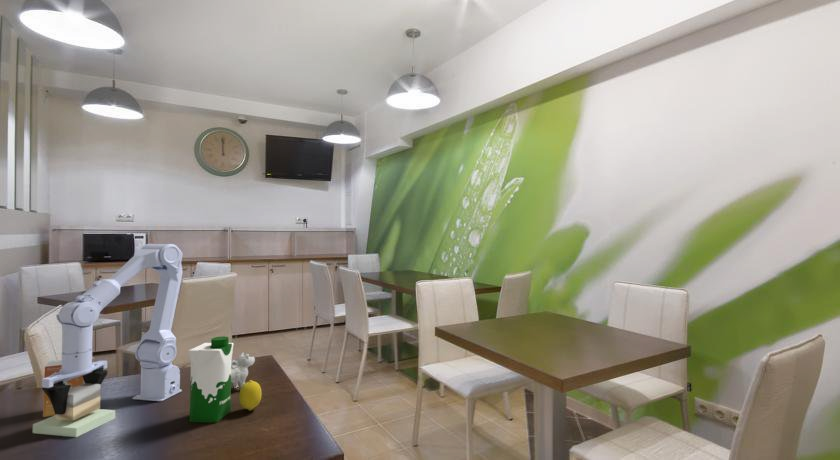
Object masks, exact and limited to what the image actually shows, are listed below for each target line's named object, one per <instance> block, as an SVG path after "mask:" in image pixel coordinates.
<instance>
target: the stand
mask: <svg viewBox="0 0 840 460" xmlns="http://www.w3.org/2000/svg"><path fill="white" fill-rule="evenodd" d="M115 419H116V410H115V409H101V408H99V409H97V410H95V411H93V412H91V413H88V414H86V415H84V416H82V417H80V418H77V419H75V420H73V421H72V420H59V419H56V415H53V416H49V417H46V418H45V419H43V420H40V421H38V422H35V423H33V424H32V434H38V435H50V436H60V437H61V436H62V437H72V438H78V437H79V436H82V435H84V434H86V433H88V432H90V431H92V430H94V429H96V428H98V427H101V426H102V425H104V424H107V423H109V422H110V421H112V420H115Z"/></svg>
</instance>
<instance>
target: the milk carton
mask: <svg viewBox="0 0 840 460" xmlns="http://www.w3.org/2000/svg"><path fill="white" fill-rule="evenodd" d="M229 339H230V337H228V336H217V337H212V338H211V339H210V340H211V341H210V342H204V343H202V344H200V345H197V346H196V347H193V348H191V349H188V354H189V361H190V385H189V386H190V394H189V395H190V396H189V419H188V420H189V423H219V422H220V421H221V420H222V419H223V418H224V417H225V416H227V415H228V414H229V413H230V412H231V411H232V396H231V395H232V392H231V391H232V383H231V361H232V359H233V351H234V342H230V341H229Z"/></svg>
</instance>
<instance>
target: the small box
mask: <svg viewBox="0 0 840 460" xmlns="http://www.w3.org/2000/svg"><path fill="white" fill-rule="evenodd" d="M60 369H62V359H55V360H49V361H48V362H47V364H46V365H45V366H44V374H43V375H44V377H43V379H44V378H46V377H49V376H51V375H53V374H55V373H57V372H60ZM64 383H65V385H71V387H70V389H71V388H73V387H76V386H79V385H81V384H84V379H83V376H80V377H77V378H74V379H71V380H68V381H65V382H63V384H64ZM42 401H43V402H42V404H43V405H42V418H48V417H52V416H55V415H56V414H55V412H54V409H53V406H52V403H51V401H50V399H49V397H48V396H47V394H46V393H45V392H44V391H43V400H42Z"/></svg>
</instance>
